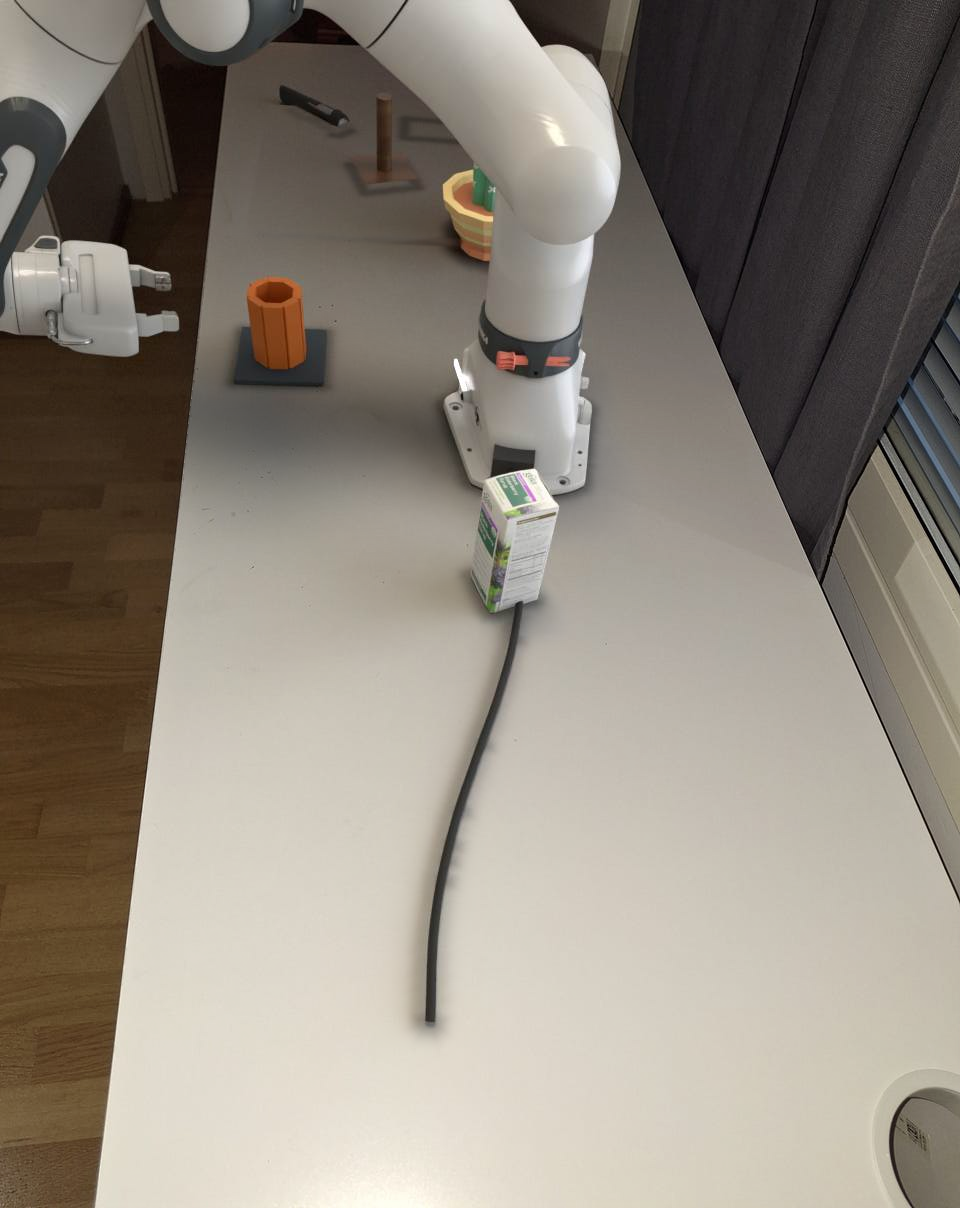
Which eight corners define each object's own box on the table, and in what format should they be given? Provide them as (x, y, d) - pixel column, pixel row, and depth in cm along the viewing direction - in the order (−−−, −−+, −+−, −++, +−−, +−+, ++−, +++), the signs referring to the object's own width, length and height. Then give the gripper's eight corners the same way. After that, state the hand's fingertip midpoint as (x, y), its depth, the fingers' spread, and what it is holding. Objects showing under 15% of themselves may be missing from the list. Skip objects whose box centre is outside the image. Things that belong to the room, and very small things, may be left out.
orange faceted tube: (304, 370, 115) (299, 308, 107) (253, 368, 114) (244, 306, 107) (307, 339, 118) (302, 278, 111) (257, 337, 118) (249, 275, 111)
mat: (323, 386, 114) (323, 382, 113) (234, 383, 113) (233, 379, 112) (326, 333, 121) (326, 329, 120) (242, 330, 119) (242, 326, 119)
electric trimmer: (291, 99, 161) (289, 80, 159) (353, 130, 156) (352, 110, 154) (275, 105, 159) (273, 86, 157) (337, 136, 154) (336, 117, 152)
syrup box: (468, 575, 97) (480, 478, 85) (518, 561, 99) (535, 464, 87) (489, 615, 94) (504, 520, 82) (540, 600, 96) (561, 505, 84)
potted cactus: (519, 214, 144) (541, 41, 124) (554, 268, 135) (583, 91, 115) (426, 222, 140) (433, 45, 120) (456, 278, 131) (469, 97, 111)
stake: (418, 187, 146) (421, 107, 136) (365, 193, 143) (364, 111, 134) (402, 160, 151) (403, 81, 141) (349, 165, 148) (347, 84, 139)
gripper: (43, 316, 93) (183, 321, 98) (42, 228, 106) (166, 237, 111) (50, 369, 97) (183, 372, 103) (48, 278, 110) (167, 285, 116)
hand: (174, 301), depth 107 cm, fingers open, 8 cm apart
